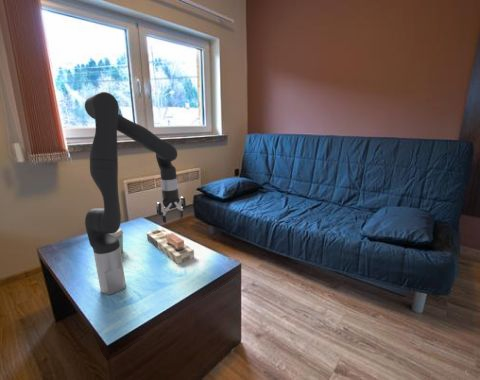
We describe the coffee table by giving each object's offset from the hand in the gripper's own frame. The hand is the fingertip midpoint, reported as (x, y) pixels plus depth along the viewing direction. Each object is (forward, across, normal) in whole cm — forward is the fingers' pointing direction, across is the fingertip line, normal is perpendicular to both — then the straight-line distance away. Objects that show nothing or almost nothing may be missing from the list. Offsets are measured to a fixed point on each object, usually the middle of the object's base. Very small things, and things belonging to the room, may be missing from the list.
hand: (172, 220), depth 126 cm
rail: (+18, 0, +8) cm, 19 cm away
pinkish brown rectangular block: (+18, 0, 0) cm, 18 cm away
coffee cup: (+18, -22, +22) cm, 36 cm away
